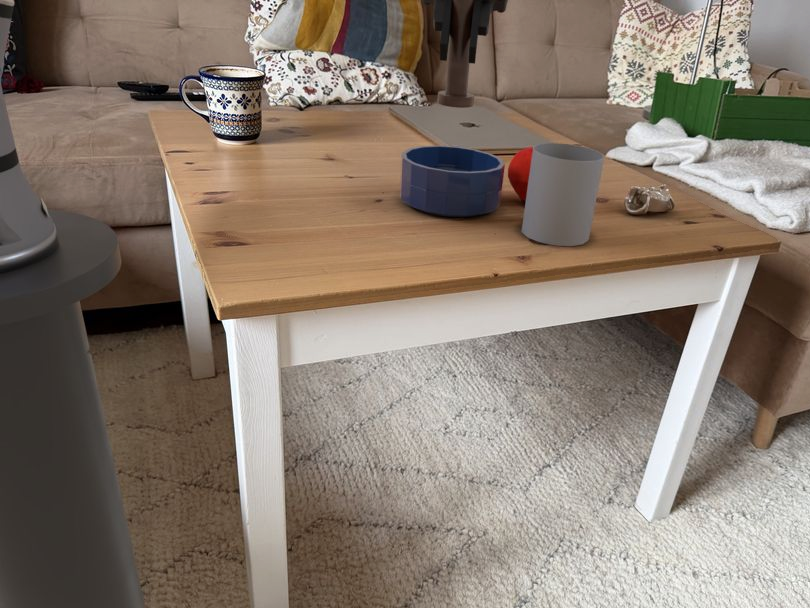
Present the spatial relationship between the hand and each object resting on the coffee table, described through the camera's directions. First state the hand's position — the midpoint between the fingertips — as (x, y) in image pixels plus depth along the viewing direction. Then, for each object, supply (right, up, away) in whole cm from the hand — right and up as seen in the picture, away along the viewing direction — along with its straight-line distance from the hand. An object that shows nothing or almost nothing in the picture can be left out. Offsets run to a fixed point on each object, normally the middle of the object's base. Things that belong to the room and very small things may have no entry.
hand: (457, 53), depth 76 cm
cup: (+12, -19, +7) cm, 24 cm away
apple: (+10, -13, +18) cm, 25 cm away
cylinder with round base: (0, -3, +6) cm, 7 cm away
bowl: (-1, -14, +14) cm, 20 cm away
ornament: (+26, -14, +19) cm, 35 cm away
